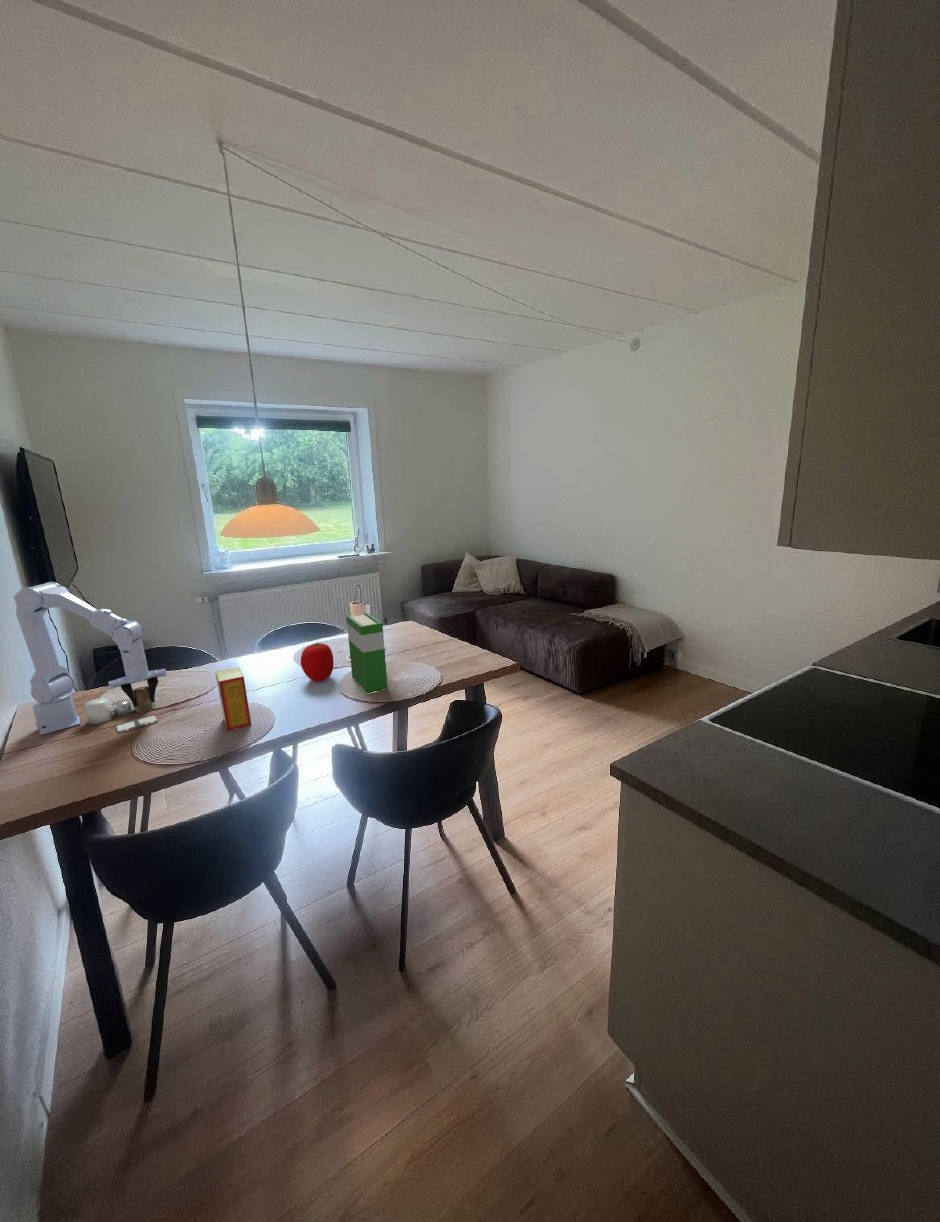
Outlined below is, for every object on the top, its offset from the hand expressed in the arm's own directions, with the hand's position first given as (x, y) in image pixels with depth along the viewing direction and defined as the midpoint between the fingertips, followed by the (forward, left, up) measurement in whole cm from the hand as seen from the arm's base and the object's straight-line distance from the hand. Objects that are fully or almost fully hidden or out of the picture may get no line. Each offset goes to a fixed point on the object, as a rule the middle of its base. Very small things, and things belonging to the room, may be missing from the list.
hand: (144, 703), depth 149 cm
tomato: (+53, -7, -6) cm, 54 cm away
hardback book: (+64, -24, -6) cm, 69 cm away
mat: (-3, 0, -6) cm, 6 cm away
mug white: (-11, +12, -6) cm, 17 cm away
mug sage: (+1, +12, -6) cm, 13 cm away
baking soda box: (+20, -21, -6) cm, 30 cm away
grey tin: (-5, +13, -6) cm, 15 cm away
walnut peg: (0, 0, -2) cm, 2 cm away
